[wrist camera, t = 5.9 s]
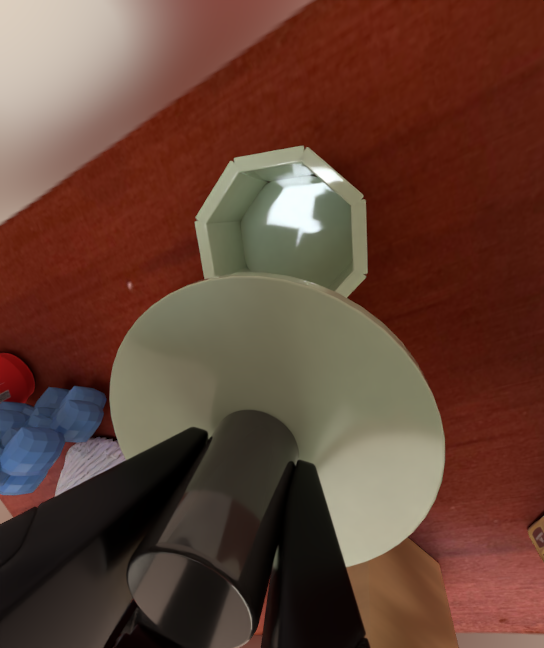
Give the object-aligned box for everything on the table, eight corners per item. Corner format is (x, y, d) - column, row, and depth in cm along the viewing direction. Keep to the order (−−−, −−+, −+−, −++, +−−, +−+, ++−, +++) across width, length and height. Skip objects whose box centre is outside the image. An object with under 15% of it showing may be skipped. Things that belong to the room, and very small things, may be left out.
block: (439, 563, 24) (490, 785, 15) (370, 598, 26) (376, 803, 17) (366, 501, 24) (372, 685, 14) (304, 543, 26) (275, 720, 17)
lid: (532, 453, 7) (725, 731, 3) (283, 592, 11) (240, 804, 7) (229, 187, 7) (68, 160, 3) (78, 419, 10) (-84, 539, 7)
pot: (395, 228, 18) (408, 233, 13) (304, 326, 21) (288, 358, 16) (287, 135, 17) (262, 107, 13) (212, 247, 20) (170, 257, 16)
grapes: (45, 441, 30) (-135, 571, 19) (14, 375, 29) (-203, 477, 18) (149, 437, 27) (4, 592, 16) (122, 362, 25) (-64, 478, 14)
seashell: (14, 469, 28) (73, 471, 22) (75, 429, 32) (136, 422, 27) (73, 563, 29) (140, 585, 24) (123, 513, 34) (188, 522, 29)
